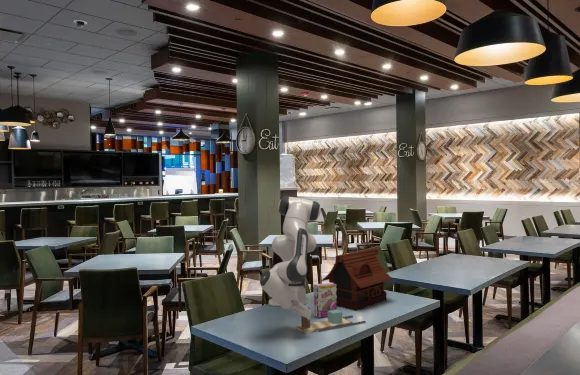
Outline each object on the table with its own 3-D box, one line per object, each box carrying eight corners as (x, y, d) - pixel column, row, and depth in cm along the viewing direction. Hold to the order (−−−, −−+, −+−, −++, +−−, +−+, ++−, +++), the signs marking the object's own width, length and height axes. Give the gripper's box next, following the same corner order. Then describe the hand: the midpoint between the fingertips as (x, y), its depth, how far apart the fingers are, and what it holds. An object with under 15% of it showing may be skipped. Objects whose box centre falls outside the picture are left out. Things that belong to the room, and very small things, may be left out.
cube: (333, 324, 214) (333, 313, 214) (327, 321, 219) (327, 311, 219) (342, 322, 216) (342, 312, 216) (336, 319, 221) (336, 309, 221)
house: (360, 313, 235) (358, 257, 235) (319, 304, 256) (318, 252, 255) (397, 300, 259) (396, 250, 259) (357, 292, 280) (356, 246, 280)
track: (319, 331, 207) (319, 330, 207) (307, 325, 217) (307, 323, 217) (365, 322, 219) (365, 321, 219) (352, 317, 229) (352, 315, 229)
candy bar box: (317, 318, 227) (317, 286, 227) (313, 316, 232) (312, 284, 232) (337, 316, 231) (336, 284, 231) (333, 313, 236) (332, 282, 236)
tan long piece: (304, 333, 205) (304, 311, 205) (295, 328, 213) (295, 306, 213) (352, 324, 217) (352, 303, 217) (342, 319, 225) (341, 299, 225)
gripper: (302, 298, 198) (322, 317, 202) (282, 289, 216) (300, 306, 220) (293, 309, 196) (313, 328, 200) (273, 299, 214) (292, 317, 218)
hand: (306, 317), depth 211 cm, fingers closed on tan long piece, 3 cm apart
